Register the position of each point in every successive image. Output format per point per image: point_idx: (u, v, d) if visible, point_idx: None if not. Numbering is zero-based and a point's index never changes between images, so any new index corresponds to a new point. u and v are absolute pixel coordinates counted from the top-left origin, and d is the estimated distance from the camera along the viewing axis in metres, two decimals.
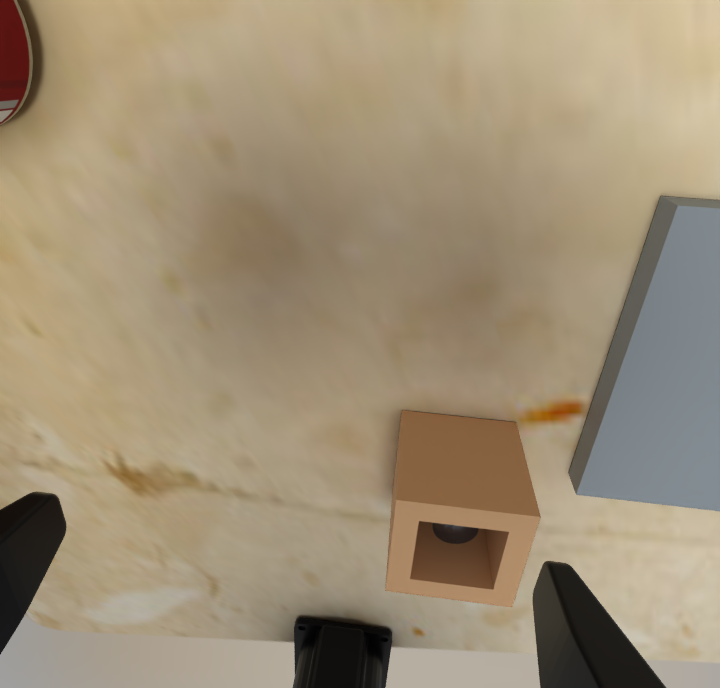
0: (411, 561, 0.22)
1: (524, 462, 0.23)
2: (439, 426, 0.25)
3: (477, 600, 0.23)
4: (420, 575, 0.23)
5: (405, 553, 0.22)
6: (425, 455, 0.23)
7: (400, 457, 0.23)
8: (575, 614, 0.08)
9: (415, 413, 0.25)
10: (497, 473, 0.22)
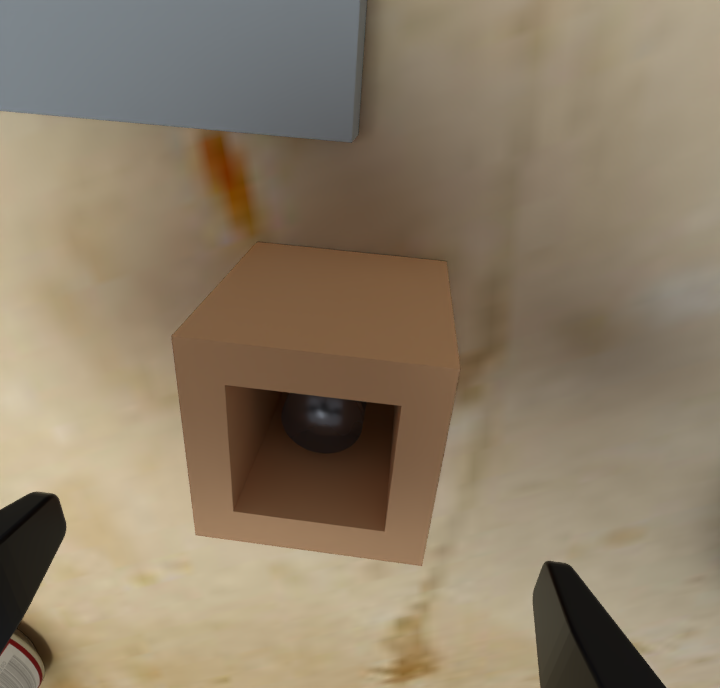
0: (335, 526, 0.12)
1: None
2: None
3: (440, 432, 0.10)
4: (387, 509, 0.12)
5: (315, 533, 0.12)
6: None
7: None
8: (575, 614, 0.08)
9: None
10: None
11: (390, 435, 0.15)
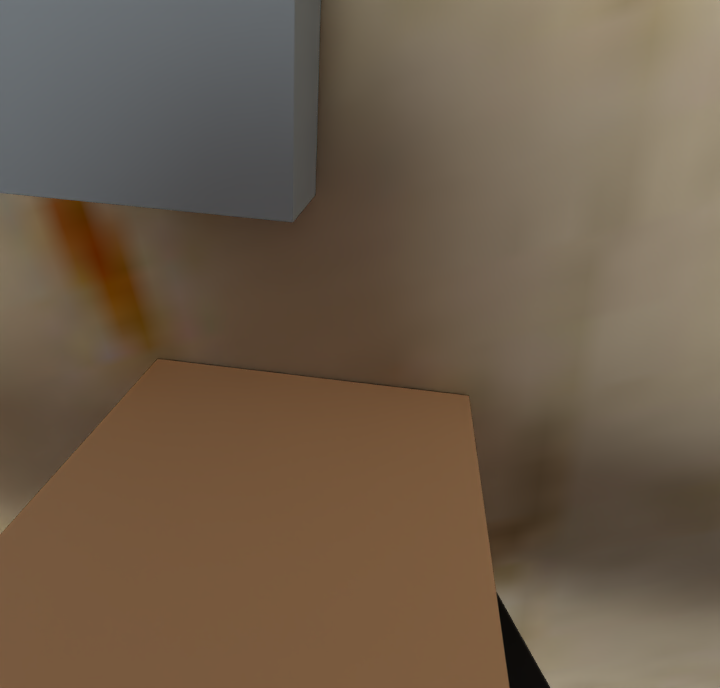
0: None
1: (60, 473, 0.07)
2: None
3: None
4: None
5: None
6: None
7: None
8: None
9: None
10: None
11: None
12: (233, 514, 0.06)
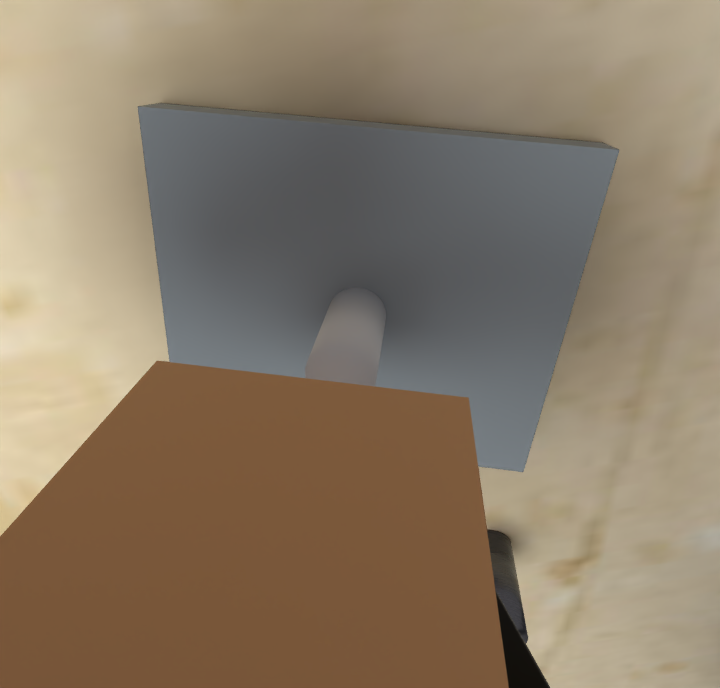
0: None
1: (59, 476, 0.07)
2: None
3: None
4: None
5: None
6: None
7: None
8: None
9: None
10: None
11: None
12: (232, 517, 0.06)
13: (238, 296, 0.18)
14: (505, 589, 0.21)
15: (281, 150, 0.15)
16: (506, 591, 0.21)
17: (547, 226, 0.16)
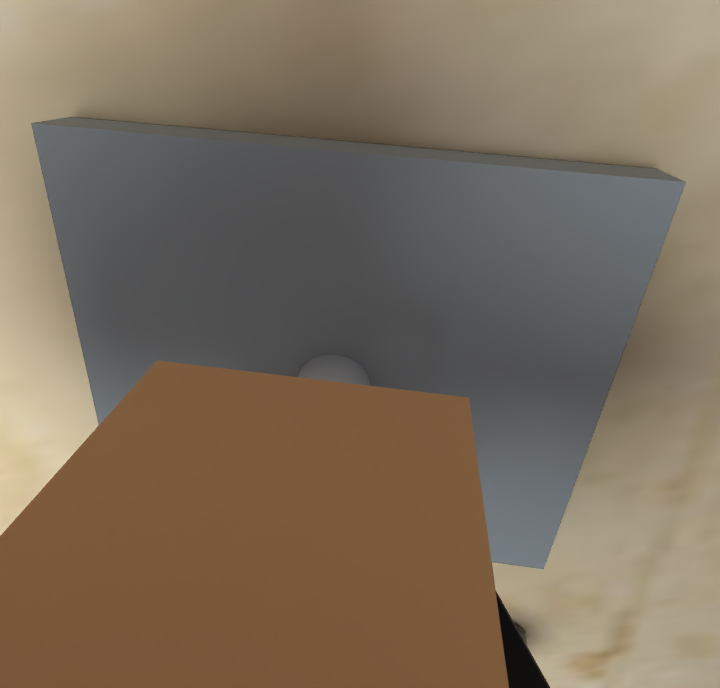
0: None
1: (59, 476, 0.07)
2: None
3: None
4: None
5: None
6: None
7: None
8: None
9: None
10: None
11: None
12: (232, 517, 0.06)
13: None
14: None
15: (226, 181, 0.11)
16: None
17: (582, 281, 0.12)
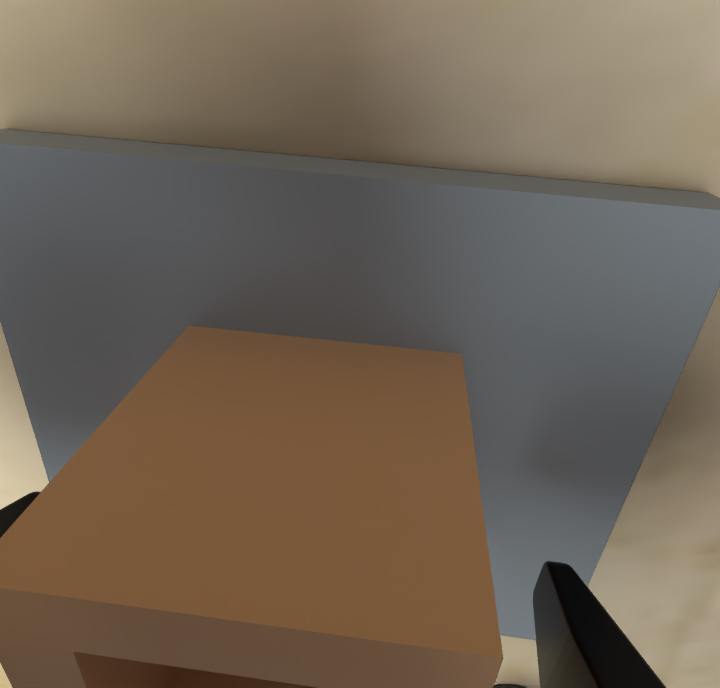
0: None
1: (117, 412, 0.08)
2: None
3: None
4: None
5: None
6: None
7: None
8: (575, 614, 0.08)
9: None
10: None
11: None
12: (263, 439, 0.08)
13: None
14: None
15: (185, 209, 0.09)
16: None
17: (618, 330, 0.10)
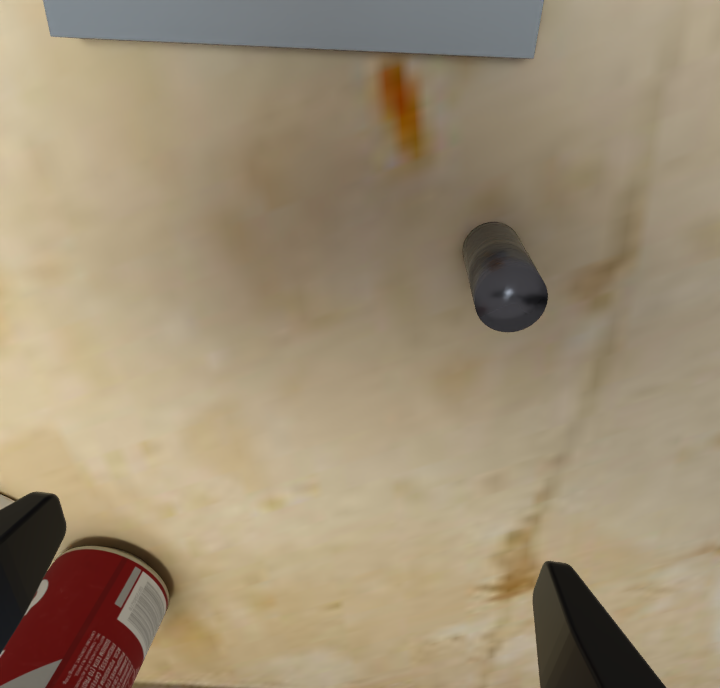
0: None
1: None
2: None
3: None
4: None
5: None
6: None
7: None
8: (575, 614, 0.08)
9: None
10: None
11: None
12: None
13: None
14: (514, 250, 0.15)
15: None
16: (515, 252, 0.15)
17: None
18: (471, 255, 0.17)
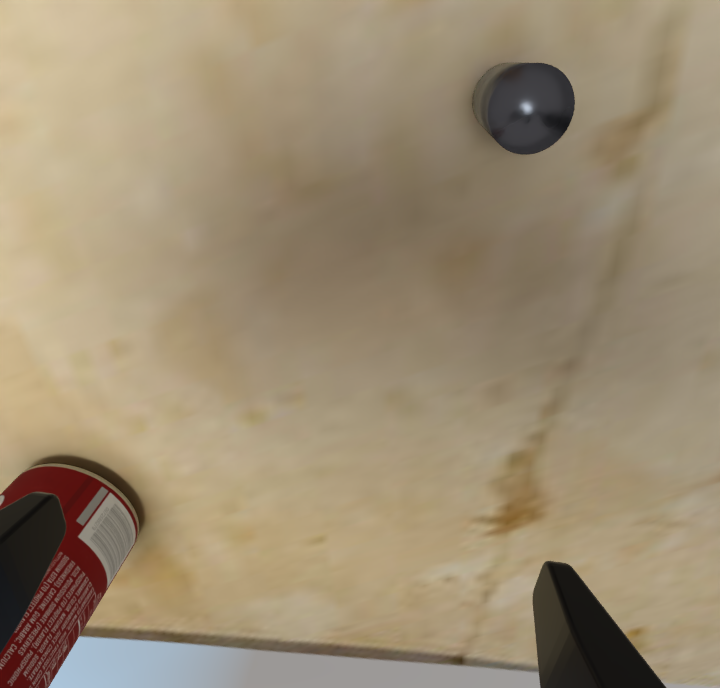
0: None
1: None
2: None
3: None
4: None
5: None
6: None
7: None
8: (575, 614, 0.08)
9: None
10: None
11: None
12: None
13: None
14: None
15: None
16: None
17: None
18: (483, 85, 0.14)
